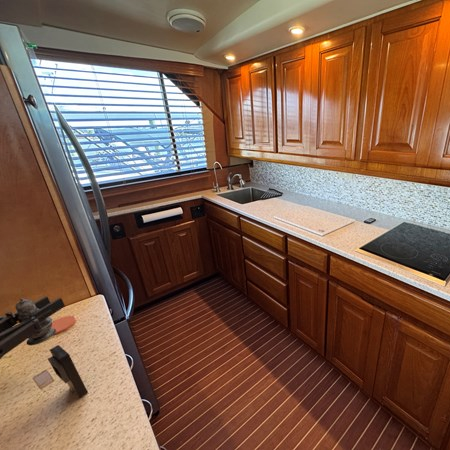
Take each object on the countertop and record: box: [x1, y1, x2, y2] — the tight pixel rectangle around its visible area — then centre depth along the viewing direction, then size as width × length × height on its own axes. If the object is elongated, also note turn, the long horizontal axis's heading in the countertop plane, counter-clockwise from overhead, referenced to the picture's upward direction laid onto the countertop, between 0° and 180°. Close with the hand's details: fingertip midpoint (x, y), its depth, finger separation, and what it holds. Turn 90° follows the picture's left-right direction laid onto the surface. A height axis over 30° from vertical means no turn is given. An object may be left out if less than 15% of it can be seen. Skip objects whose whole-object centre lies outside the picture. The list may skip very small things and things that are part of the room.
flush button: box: [32, 369, 55, 391], centre depth 49 cm, size 2×3×3 cm, turn 62°
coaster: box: [51, 315, 78, 336], centre depth 73 cm, size 8×8×1 cm
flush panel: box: [47, 344, 89, 399], centre depth 52 cm, size 2×5×12 cm, turn 62°
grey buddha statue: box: [14, 297, 56, 346], centre depth 58 cm, size 6×6×12 cm
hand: (54, 301), depth 63 cm, fingers closed on grey buddha statue, 4 cm apart
